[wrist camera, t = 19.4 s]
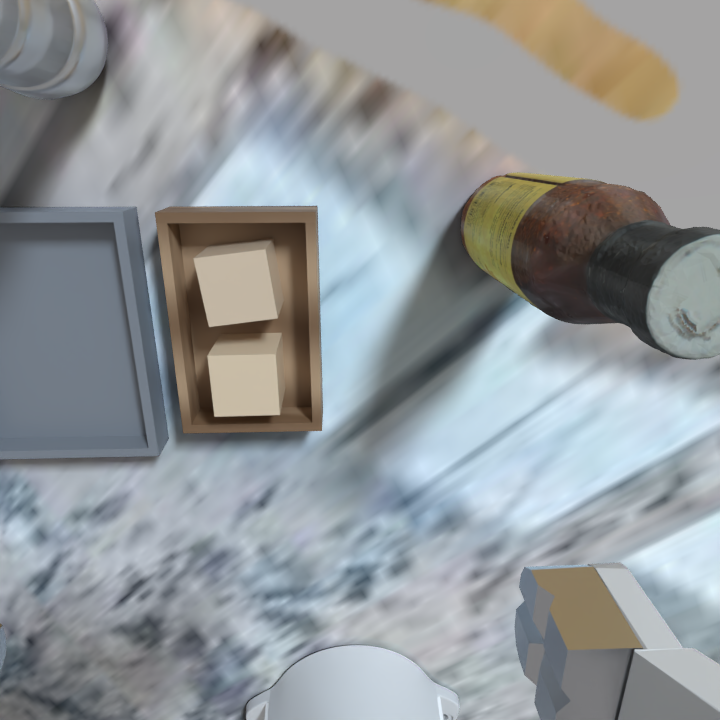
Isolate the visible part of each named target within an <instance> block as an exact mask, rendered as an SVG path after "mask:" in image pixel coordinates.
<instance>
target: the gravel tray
mask: <svg viewBox="0 0 720 720" xmlns="http://www.w3.org/2000/svg"><path fill="white" fill-rule="evenodd" d="M168 439H169V437H168V430H167V422H166V415H165V408H164V401H163V394H162V387H161V379H160V372H159V365H158V358H157V351H156V343H155V336H154V329H153V322H152V315H151V308H150V300H149V293H148V286H147V279H146V272H145V265H144V257H143V250H142V243H141V236H140V229H139V222H138V214H137V207H10V208H0V459H40V458H88V457H137V456H159V455H160V453H161V451H162V450H163V448H164V446H165V444H166V443H167V441H168Z"/></svg>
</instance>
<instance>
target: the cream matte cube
mask: <svg viewBox="0 0 720 720" xmlns="http://www.w3.org/2000/svg"><path fill="white" fill-rule="evenodd" d="M207 357H208V366H209V374H210V383H211V391H212V400H213V409H214V417H225V416H262V415H280V412H281V407H282V402H283V397H284V393H285V375H284V360H283V344H282V333H249V334H220V336H219V337H218V339H217V341H216V342H215V344H214V346H213V347H212V349H211V351H210V352H209V354H208V356H207Z"/></svg>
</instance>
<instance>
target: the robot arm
mask: <svg viewBox="0 0 720 720" xmlns="http://www.w3.org/2000/svg"><path fill="white" fill-rule="evenodd" d="M519 588H520V590H521V593H522V595H523V598H524V600H525V601H524V602H523V603H522V604H521V605H520V606H519V607H518V608H517V609H516V618H515V637H516V647H517V651H518V655H519V660H520V663H521V666H522V669H523V672H524V675H525V676H526V677H527V678H529V679H530V680H531V681H532V682H533V683H534V684H535V685H537V689H536V695H535V702H534V703H535V706H536V708H537V711H538V714H539V717H540V719H541V720H720V665H719V664H718V663H716V662H715V661H713V660H712V659H710V658H709V657H707V656H705V655H704V654H702V653H701V652H699V651H698V650H696V649H694V648H683V647H682V645H681V644H680V643H679V641H678V640H677V638H676V637H675V635H674V634H673V633H672V631H671V630H670V628H669V627H668V625H667V624H666V622H665V621H664V620H663V618H662V617H661V615H660V614H659V612H658V611H657V610H656V608H655V607H654V605H653V604H652V602H651V601H650V600H649V598H648V597H647V595H646V594H645V592H644V591H643V589H642V588H641V587H640V585H639V584H638V582H637V581H636V579H635V578H634V577H633V575H632V574H631V572H630V571H629V569H628V568H627V567H626V566H625V565H623V564H621V563H602V564H588V565H564V566H536V567H524V569H523V571H522V573H521V579H520V585H519ZM5 656H6V636H5V632H4V629H3V625H2V624H0V672H1V669H2V666H3V662H4V659H5ZM459 710H460V706H459V698H458V696H457V694H456V693H454V692H453V691H451V690H449V689H447V688H445V687H443V686H441V685H438V684H436V683H434V682H433V681H432V680H431V679H430V678H429V677H428V676H427V675H426V674H425V673H424V672H423V671H422V669H421V668H420V667H419V666H417V665H416V664H415V663H414V662H412V661H411V660H410V659H408V658H406V657H404V656H403V655H400V654H398V653H396V652H393V651H390V650H387V649H384V648H379V647H374V646H365V645H349V646H339V647H334V648H329V649H326V650H322V651H319V652H316V653H314V654H312V655H309V656H307V657H305V658H304V659H302V660H300V661H299V662H297V663H296V664H295V665H293V666H292V667H291V668H290V669H289V670H287V671H286V673H285V674H284V675H283V676H282V677H281V678H280V680H279V681H278V682H277V683H276V684H275V685H274V686H273V687H272V688H271V689H269V690H267V691H265V692H263V693H261V694H259V695H258V696H256V697H254V698H253V699H251V700H250V701H249V702H248V703H247V706H246V720H456V719H457V717H458V714H459Z"/></svg>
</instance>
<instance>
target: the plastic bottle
mask: <svg viewBox="0 0 720 720" xmlns="http://www.w3.org/2000/svg"><path fill="white" fill-rule="evenodd" d="M107 52H108V36H107V29H106V26H105V22H104V19H103V16H102V14H101V12H100V10H99V8H98V6H97V4H96V3H95V2H94V0H0V86H2V87H4V88H7V89H9V90H11V91H14V92H16V93H19V94H21V95H24V96H27V97H31V98H36V99H49V100H52V99H57V98H63V97H67V96H71V95H74V94H77V93H79V92H81V91H83V90H85V89H86V88H88V87H89V86H90V85H92V84H93V82H94V81H95V80H96V79H97V78H98V77H99V75H100V73H101V71H102V69H103V67H104V65H105V61H106V58H107Z"/></svg>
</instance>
